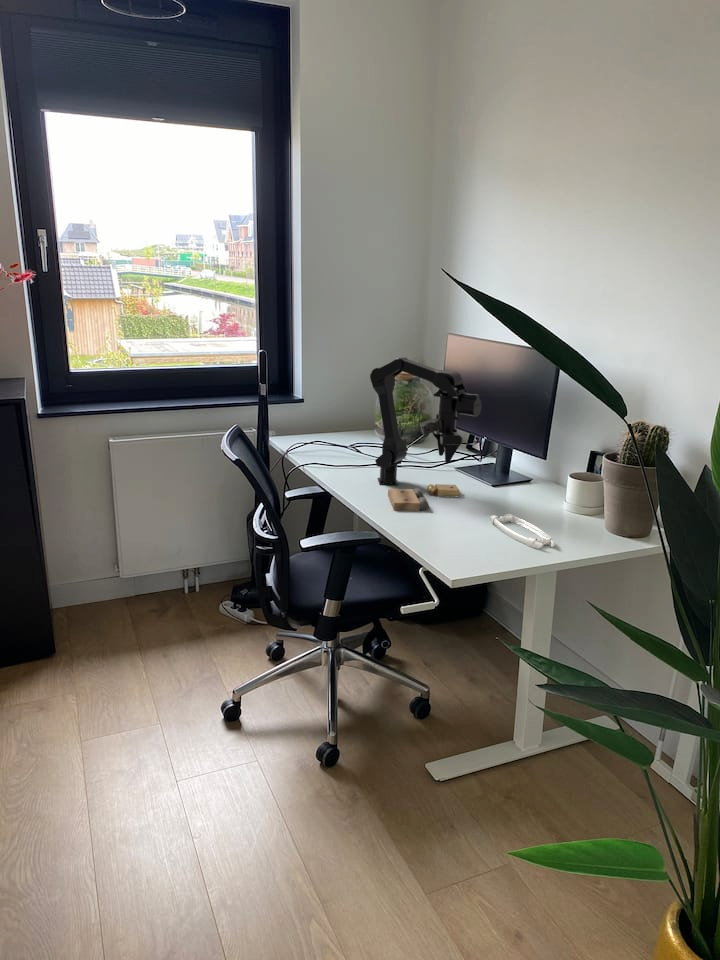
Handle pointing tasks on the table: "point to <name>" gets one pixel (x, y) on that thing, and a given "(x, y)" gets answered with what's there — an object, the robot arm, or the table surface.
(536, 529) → the door handle
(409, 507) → the tan flat piece
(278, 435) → the table surface
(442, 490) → the tan knobbed block
